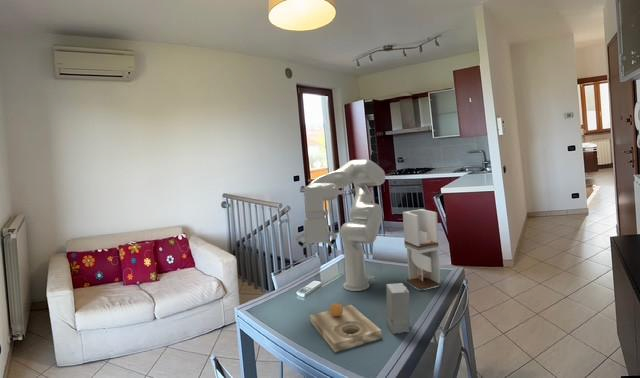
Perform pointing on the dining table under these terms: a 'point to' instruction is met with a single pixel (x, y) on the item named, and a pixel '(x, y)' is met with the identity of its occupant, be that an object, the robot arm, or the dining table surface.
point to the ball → (336, 309)
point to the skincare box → (397, 308)
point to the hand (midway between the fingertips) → (317, 255)
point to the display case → (422, 248)
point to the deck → (345, 328)
